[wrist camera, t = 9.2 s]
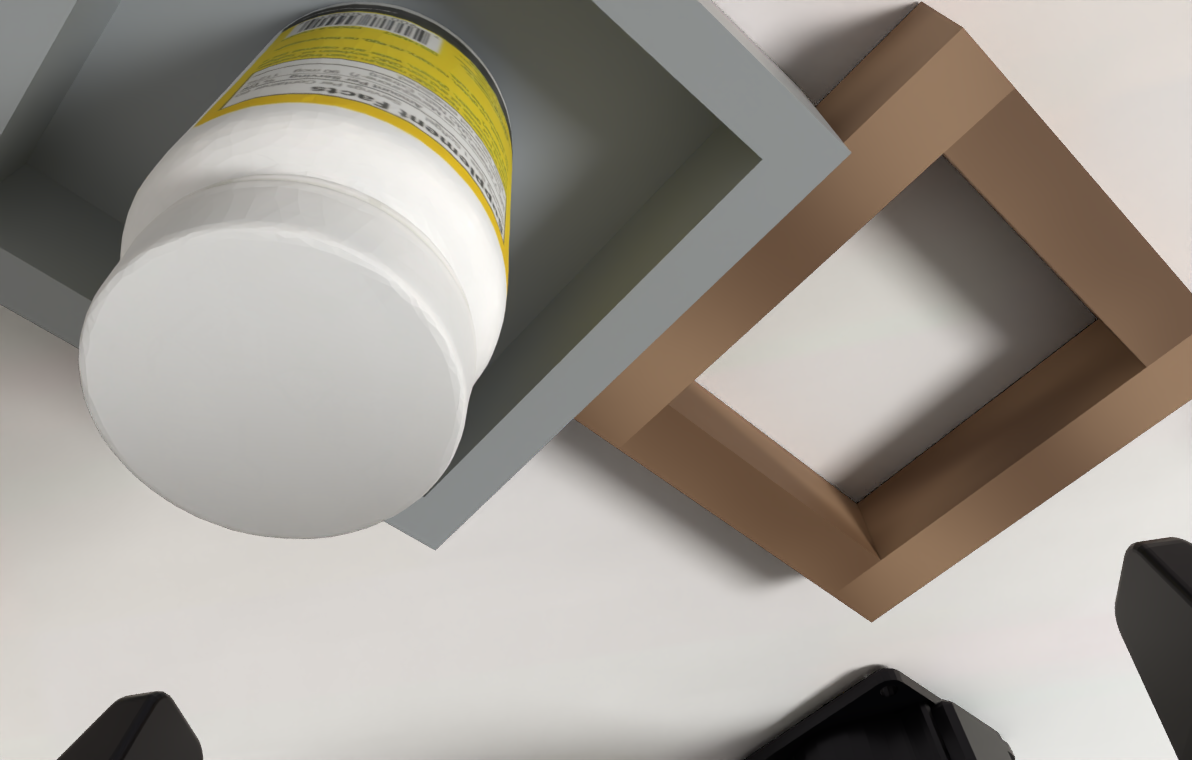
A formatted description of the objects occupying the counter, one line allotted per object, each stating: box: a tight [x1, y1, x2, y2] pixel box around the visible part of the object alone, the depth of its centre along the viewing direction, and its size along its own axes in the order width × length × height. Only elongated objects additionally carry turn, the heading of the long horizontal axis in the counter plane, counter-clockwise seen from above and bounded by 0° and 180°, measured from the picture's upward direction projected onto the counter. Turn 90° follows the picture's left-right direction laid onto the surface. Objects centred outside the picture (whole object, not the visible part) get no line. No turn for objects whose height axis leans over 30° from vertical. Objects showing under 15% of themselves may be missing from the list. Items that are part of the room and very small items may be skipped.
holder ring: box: [574, 2, 1192, 622], centre depth 20 cm, size 10×10×2 cm
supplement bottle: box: [78, 2, 513, 539], centre depth 13 cm, size 5×5×8 cm
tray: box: [0, 0, 851, 550], centre depth 16 cm, size 11×11×4 cm
